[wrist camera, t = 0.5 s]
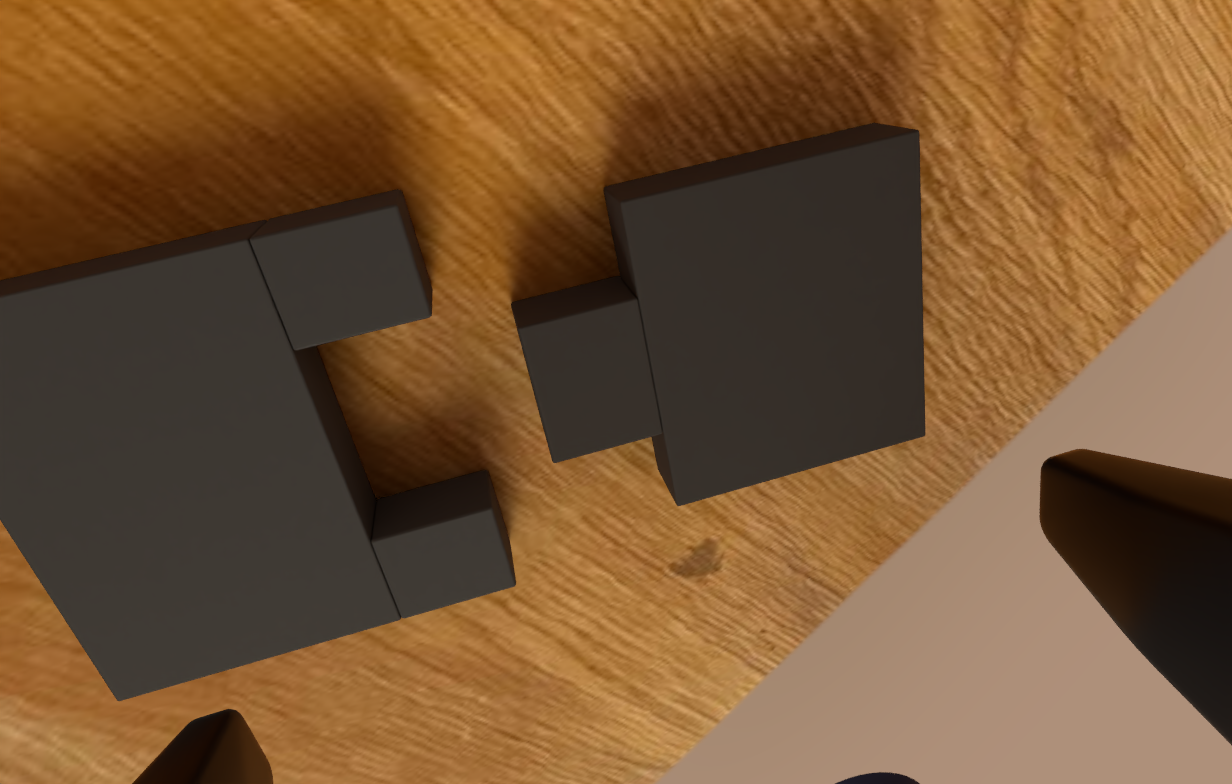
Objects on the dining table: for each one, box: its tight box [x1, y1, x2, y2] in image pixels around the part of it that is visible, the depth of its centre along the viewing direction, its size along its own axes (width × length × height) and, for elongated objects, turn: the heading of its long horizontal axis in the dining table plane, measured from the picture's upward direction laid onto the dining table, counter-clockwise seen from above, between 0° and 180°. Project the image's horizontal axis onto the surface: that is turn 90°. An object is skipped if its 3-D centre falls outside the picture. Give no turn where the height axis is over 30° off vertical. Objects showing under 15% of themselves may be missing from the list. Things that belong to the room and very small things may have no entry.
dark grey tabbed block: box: [511, 123, 925, 506], centre depth 19 cm, size 8×10×2 cm
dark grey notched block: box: [0, 189, 516, 701], centre depth 18 cm, size 10×10×2 cm
